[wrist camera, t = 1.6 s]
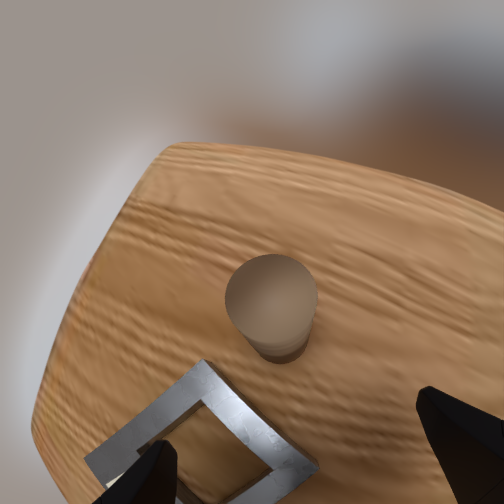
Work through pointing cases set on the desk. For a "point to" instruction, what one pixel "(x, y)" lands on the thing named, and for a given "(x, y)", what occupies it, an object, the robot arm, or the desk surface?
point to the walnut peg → (273, 305)
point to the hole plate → (231, 414)
